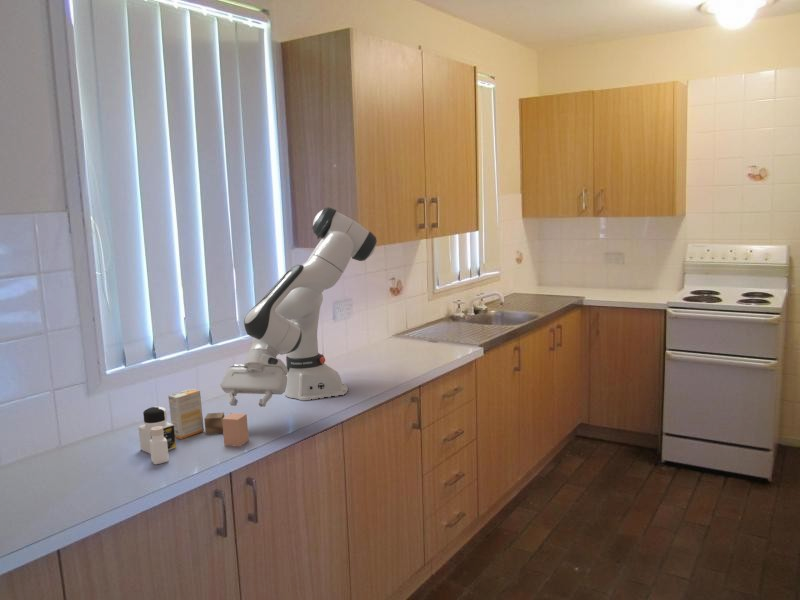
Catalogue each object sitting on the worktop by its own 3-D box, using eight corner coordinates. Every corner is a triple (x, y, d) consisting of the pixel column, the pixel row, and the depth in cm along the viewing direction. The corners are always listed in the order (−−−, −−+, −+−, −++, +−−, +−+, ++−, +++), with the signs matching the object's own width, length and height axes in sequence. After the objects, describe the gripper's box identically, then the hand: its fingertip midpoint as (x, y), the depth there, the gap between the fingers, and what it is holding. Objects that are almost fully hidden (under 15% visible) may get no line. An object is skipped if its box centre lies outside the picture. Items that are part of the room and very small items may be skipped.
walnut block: (225, 427, 202) (224, 412, 202) (222, 433, 198) (221, 417, 197) (208, 429, 202) (207, 413, 201) (205, 434, 197) (204, 418, 196)
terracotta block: (233, 439, 192) (231, 413, 191) (248, 440, 190) (246, 414, 189) (224, 445, 187) (222, 418, 186) (240, 446, 186) (237, 419, 184)
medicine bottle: (153, 455, 182) (148, 414, 180) (140, 450, 186) (136, 409, 184) (176, 447, 187) (172, 407, 185) (163, 442, 192) (159, 403, 190)
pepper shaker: (166, 457, 180) (162, 424, 178) (169, 462, 176) (166, 428, 175) (150, 461, 178) (147, 427, 176) (154, 465, 174) (150, 431, 173)
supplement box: (195, 428, 203) (191, 387, 201) (204, 431, 200) (200, 390, 198) (171, 436, 196) (167, 394, 194) (180, 439, 193) (176, 397, 191)
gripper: (224, 359, 201) (211, 399, 193) (286, 360, 196) (274, 401, 188) (233, 369, 206) (220, 409, 198) (293, 370, 201) (282, 411, 193)
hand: (247, 405), depth 193 cm, fingers open, 8 cm apart
